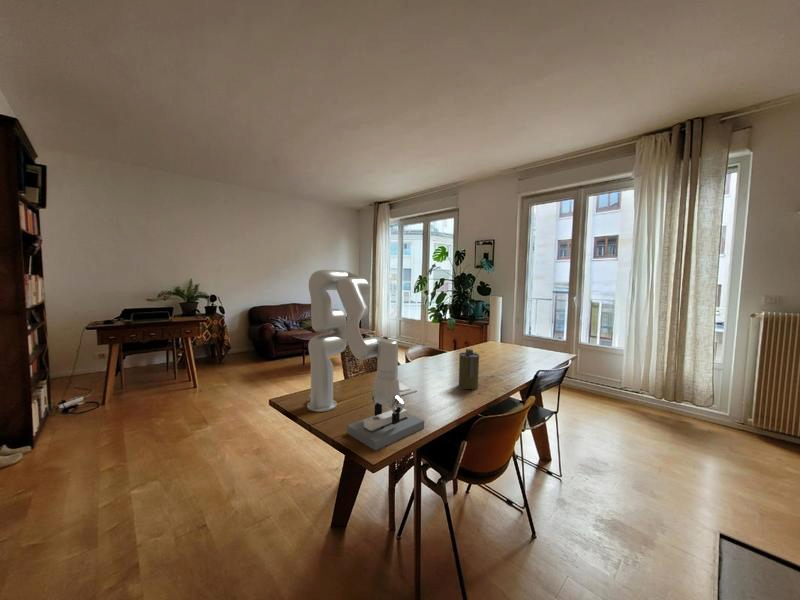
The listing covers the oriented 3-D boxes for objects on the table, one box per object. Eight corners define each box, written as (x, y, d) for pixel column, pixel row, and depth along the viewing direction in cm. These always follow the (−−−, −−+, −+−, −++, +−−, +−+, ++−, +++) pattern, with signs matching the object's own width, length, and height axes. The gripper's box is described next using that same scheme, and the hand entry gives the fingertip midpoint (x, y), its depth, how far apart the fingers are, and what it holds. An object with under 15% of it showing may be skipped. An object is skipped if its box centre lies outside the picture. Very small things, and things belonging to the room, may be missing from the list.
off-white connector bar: (363, 436, 116) (363, 419, 115) (399, 421, 128) (400, 406, 128) (370, 440, 113) (370, 423, 112) (407, 425, 125) (407, 409, 125)
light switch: (401, 379, 172) (417, 384, 162) (401, 387, 172) (417, 393, 162) (384, 383, 166) (400, 389, 156) (384, 391, 166) (400, 397, 156)
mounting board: (347, 433, 118) (347, 425, 118) (395, 414, 134) (395, 407, 134) (375, 450, 106) (375, 441, 106) (424, 428, 123) (424, 420, 123)
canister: (456, 383, 176) (457, 347, 175) (475, 383, 177) (476, 347, 175) (461, 390, 165) (462, 352, 164) (481, 390, 166) (482, 352, 165)
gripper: (364, 370, 122) (364, 414, 124) (396, 381, 110) (395, 430, 111) (379, 366, 128) (379, 409, 129) (411, 377, 115) (410, 423, 116)
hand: (386, 418), depth 120 cm, fingers open, 9 cm apart
